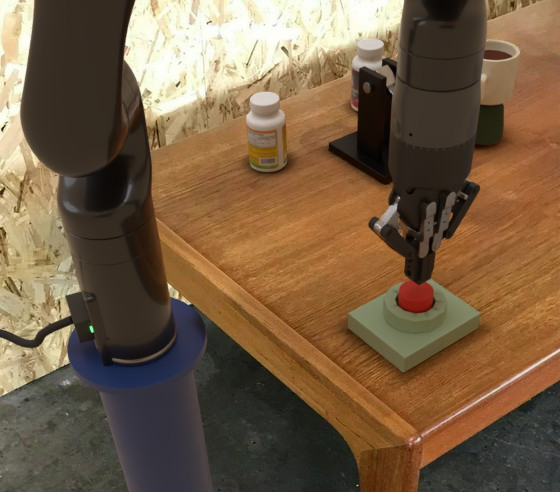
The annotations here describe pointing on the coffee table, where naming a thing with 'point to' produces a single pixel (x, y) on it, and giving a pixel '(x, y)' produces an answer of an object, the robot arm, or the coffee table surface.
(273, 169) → the supplement bottle
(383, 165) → the switch bracket
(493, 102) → the character mug
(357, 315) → the button block
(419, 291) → the button
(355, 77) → the pill bottle
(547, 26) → the coffee table surface
